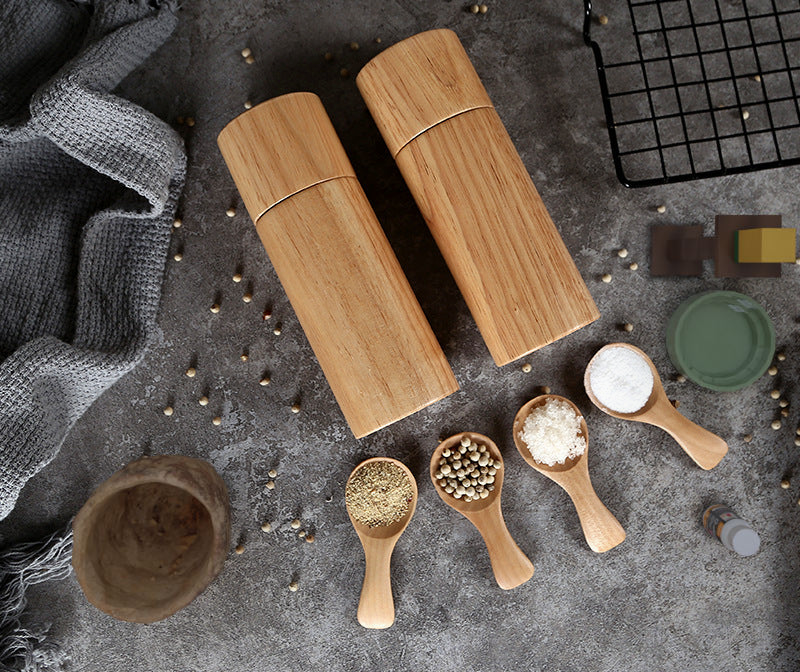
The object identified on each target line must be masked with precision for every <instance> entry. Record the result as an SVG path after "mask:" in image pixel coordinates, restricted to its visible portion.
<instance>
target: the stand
mask: <svg viewBox="0 0 800 672" xmlns="http://www.w3.org/2000/svg"><path fill="white" fill-rule="evenodd" d="M759 228H783V215H782V214H715V215H714V235H709V236H704V226H703V225H696V224H695V225H694V224H693V225H691V224H690V225H687V224H685V225H684V224H683V225H682V224H679V225H677V224H675V225H672V224H669V225H668V224H667V225H666V224H665V225H663V224H661V225H659V224H657V225H656V224H654V225H650V257H649V258H650V259H649V260H650V263H649V265H650V266H649V267H650V270H649V271H650V272H649V275H650V276H703V271H704V270H703V269H704V267H703V266H704V265H703V264H704V262H703V261H714V278H719V279H720V278H721V279H722V278H724V279H725V278H731V279H732V278H737V279H739V278H744V279H746V278H749V279H751V278H753V279H756V278H759V279H760V278H762V279H766V278H767V279H768V278H769V279H770V278H771V279H774V278H775V279H776V278H777V279H781V278H782V265H781V262H780V263H735V262H734V231H740V230H750V229H759Z"/></svg>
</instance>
